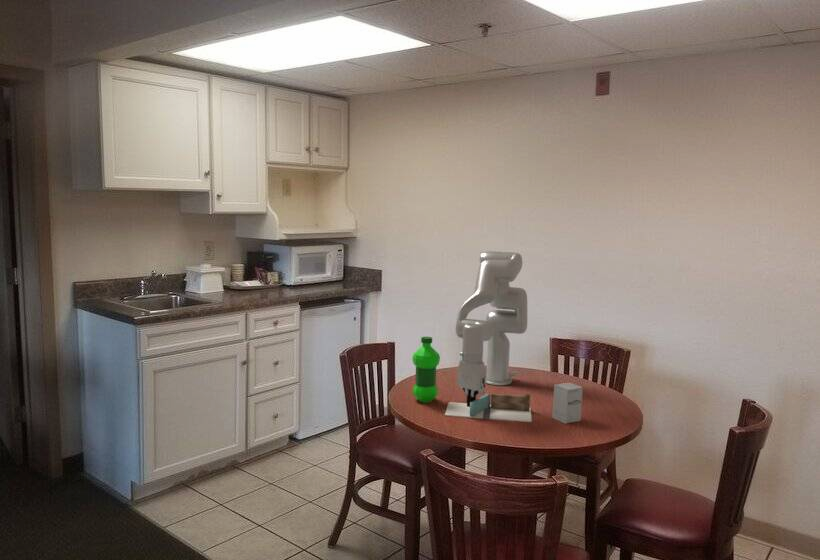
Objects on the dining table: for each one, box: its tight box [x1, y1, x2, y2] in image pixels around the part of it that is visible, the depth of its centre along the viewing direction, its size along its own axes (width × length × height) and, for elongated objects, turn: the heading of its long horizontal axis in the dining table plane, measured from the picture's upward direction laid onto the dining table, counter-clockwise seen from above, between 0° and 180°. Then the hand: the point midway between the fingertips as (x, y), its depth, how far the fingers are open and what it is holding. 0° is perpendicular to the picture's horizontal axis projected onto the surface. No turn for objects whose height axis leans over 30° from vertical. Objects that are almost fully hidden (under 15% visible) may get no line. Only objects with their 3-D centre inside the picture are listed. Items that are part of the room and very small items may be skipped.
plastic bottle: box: [412, 336, 441, 403], centre depth 239 cm, size 10×10×25 cm
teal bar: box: [470, 392, 491, 416], centre depth 226 cm, size 15×2×5 cm, turn 147°
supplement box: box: [551, 382, 584, 424], centre depth 221 cm, size 7×7×13 cm
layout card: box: [444, 401, 533, 423], centre depth 227 cm, size 31×16×1 cm, turn 80°
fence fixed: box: [490, 393, 531, 411], centre depth 230 cm, size 14×2×6 cm, turn 80°
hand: (471, 406), depth 226 cm, fingers closed
